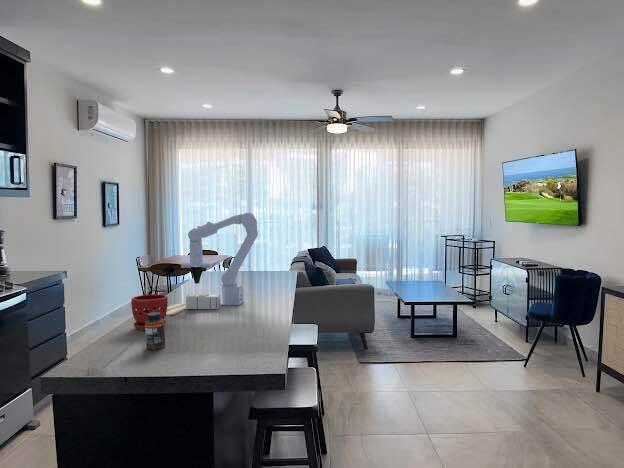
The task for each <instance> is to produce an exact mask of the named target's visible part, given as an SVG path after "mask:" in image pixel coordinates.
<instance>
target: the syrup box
mask: <svg viewBox="0 0 624 468" xmlns="http://www.w3.org/2000/svg"><path fill="white" fill-rule="evenodd" d="M185 304H186V309H187V310H219V309H220V307H221V305H220V304H221V294H198V293H197V294H190V293H189V294H188V295H187V296H186V297H185Z"/></svg>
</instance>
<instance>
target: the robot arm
mask: <svg viewBox="0 0 624 468" xmlns="http://www.w3.org/2000/svg"><path fill="white" fill-rule="evenodd" d="M241 224H242V226H243V227H244V229H245V232H246V236H245V238H244V240H243V242H242V243H241V245H240V247H239V249H238V250H237V253H236V254H235V256H234V258H233V259H232V261H231V264H230V265H229V267H228V268H227V270H225V272H224V273H222V275H221V279H220V280H221V283H222V284H221V293H222V294H221V295H222V297H221V298H222V302H220V306H240V305H241V304H243V303H244V302H245V300H244V287H243V285H242V284H238V282H237V281H236V280H237V278H238V272H239V270H240V269H241V267H242V265H243V263H244V261H245V259H246V258H247V256H248V254H249V252H250V250H251V248H252V247H253V245H254V243H255V241H256V239H257V238H258V235H259V231H258V222H257V218H256V217H255V214H253V213H251V212H245V213H240V214H236V215H233V216H230V217H228V218H226V219H224V220H223V219H222V220H221V221H218V222H214V221H207V222H206V224H203V225H198V226H196V228H195V227H194V228H192V229H190V230H189V232H188V233H187V236H188V239H189V246H188V247H189V263H188V262H186V263H185V262H182V263H180V267H181V268H182V269H188V268H189V273H190V274H191V276H192V278H193V282H194V284H200V281H201V277H202V274H203V272H204V269H212V268H213V263H208V262H203V261H204V260H203V243H202V242H203V241H202V238H203V239H205V238H209V237H210V236H212V235H215V234H217V233H218V232H219V230H220V229H223V228H226V227H229V226H232V225H241Z"/></svg>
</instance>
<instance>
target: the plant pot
mask: <svg viewBox="0 0 624 468" xmlns="http://www.w3.org/2000/svg"><path fill="white" fill-rule="evenodd" d="M130 303H131V304H130V305H131V311H132V312H131V313H132V316H133V319H134V320H135V322H134V323H133V327H134V328H136V329H137V330H140V331H145V322H146V321H147V319H148V314H149V313H153V312H159V313H160V316H161V319H163V320H164V325H165V324H166V320H165V318H166V312H167V306H168V305H169V302H168V295H166V294H144V295H143V294H142V295H137V296H134V297H131V302H130Z"/></svg>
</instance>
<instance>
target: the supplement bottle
mask: <svg viewBox="0 0 624 468" xmlns="http://www.w3.org/2000/svg"><path fill="white" fill-rule="evenodd" d="M164 320H165V319H164ZM164 320H163V319H161V316H160V313H159V312H153V313H149V314H148V319H147V321H146V322H145V330H144V331H145V344H146V349H147V350H150V351H155V350H161V349H163V348H165V347H166V332H165V324H164Z"/></svg>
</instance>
